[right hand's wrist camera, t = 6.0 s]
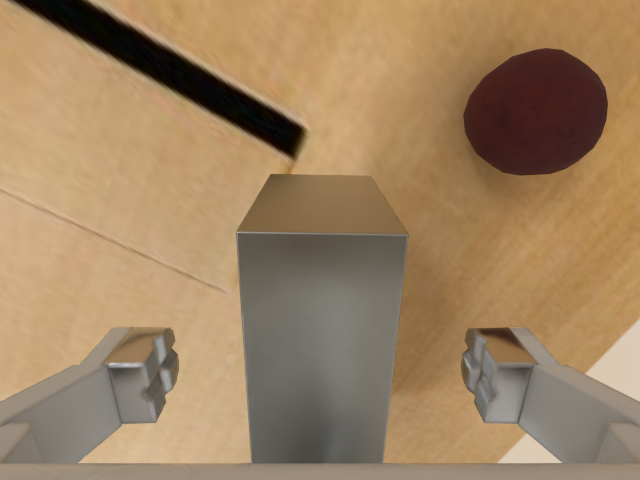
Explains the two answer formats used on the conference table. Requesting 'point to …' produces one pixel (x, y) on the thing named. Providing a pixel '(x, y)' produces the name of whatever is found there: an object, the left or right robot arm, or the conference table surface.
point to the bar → (320, 317)
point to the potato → (536, 113)
